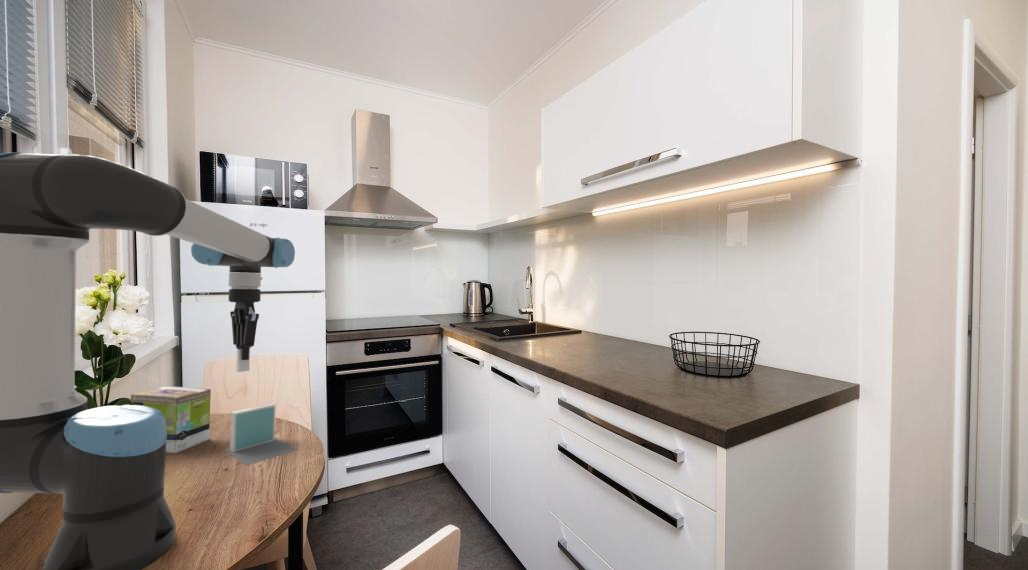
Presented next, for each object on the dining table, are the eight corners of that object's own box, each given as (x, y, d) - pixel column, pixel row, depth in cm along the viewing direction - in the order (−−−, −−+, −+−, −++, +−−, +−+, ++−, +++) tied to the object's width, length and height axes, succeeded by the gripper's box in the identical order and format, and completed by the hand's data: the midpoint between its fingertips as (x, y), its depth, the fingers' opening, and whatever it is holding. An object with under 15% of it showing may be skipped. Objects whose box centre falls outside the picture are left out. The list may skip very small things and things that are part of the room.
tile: (233, 452, 103) (234, 413, 103) (229, 449, 105) (230, 411, 105) (274, 440, 111) (275, 405, 111) (270, 438, 113) (271, 403, 113)
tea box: (210, 440, 112) (212, 388, 112) (174, 455, 102) (176, 397, 102) (166, 435, 114) (168, 384, 114) (126, 449, 104) (128, 393, 104)
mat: (246, 467, 96) (246, 465, 96) (223, 451, 104) (223, 450, 104) (297, 451, 106) (297, 449, 106) (272, 438, 114) (272, 436, 114)
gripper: (269, 288, 112) (267, 372, 112) (249, 287, 120) (247, 365, 120) (239, 288, 106) (237, 376, 106) (220, 287, 114) (218, 369, 114)
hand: (242, 370), depth 113 cm, fingers closed
